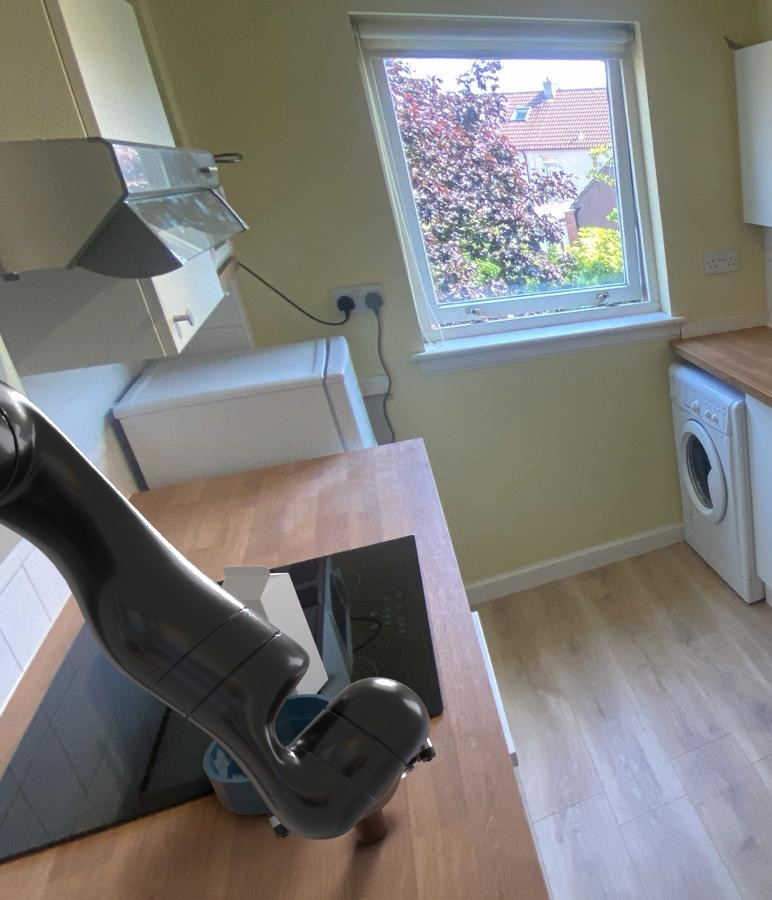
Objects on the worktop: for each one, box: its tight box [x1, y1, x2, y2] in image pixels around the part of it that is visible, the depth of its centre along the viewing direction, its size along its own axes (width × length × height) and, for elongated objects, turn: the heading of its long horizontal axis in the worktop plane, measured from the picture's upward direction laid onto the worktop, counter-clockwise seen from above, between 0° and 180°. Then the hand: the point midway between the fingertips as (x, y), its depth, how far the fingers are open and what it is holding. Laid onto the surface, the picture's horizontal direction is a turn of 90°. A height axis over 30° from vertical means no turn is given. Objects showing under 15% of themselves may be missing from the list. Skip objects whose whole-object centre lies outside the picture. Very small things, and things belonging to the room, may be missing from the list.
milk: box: [220, 565, 329, 696], centre depth 101 cm, size 6×6×22 cm
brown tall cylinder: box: [353, 808, 389, 845], centre depth 83 cm, size 3×3×10 cm
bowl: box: [202, 693, 334, 816], centre depth 92 cm, size 14×14×6 cm
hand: (357, 787), depth 77 cm, fingers open, 8 cm apart
